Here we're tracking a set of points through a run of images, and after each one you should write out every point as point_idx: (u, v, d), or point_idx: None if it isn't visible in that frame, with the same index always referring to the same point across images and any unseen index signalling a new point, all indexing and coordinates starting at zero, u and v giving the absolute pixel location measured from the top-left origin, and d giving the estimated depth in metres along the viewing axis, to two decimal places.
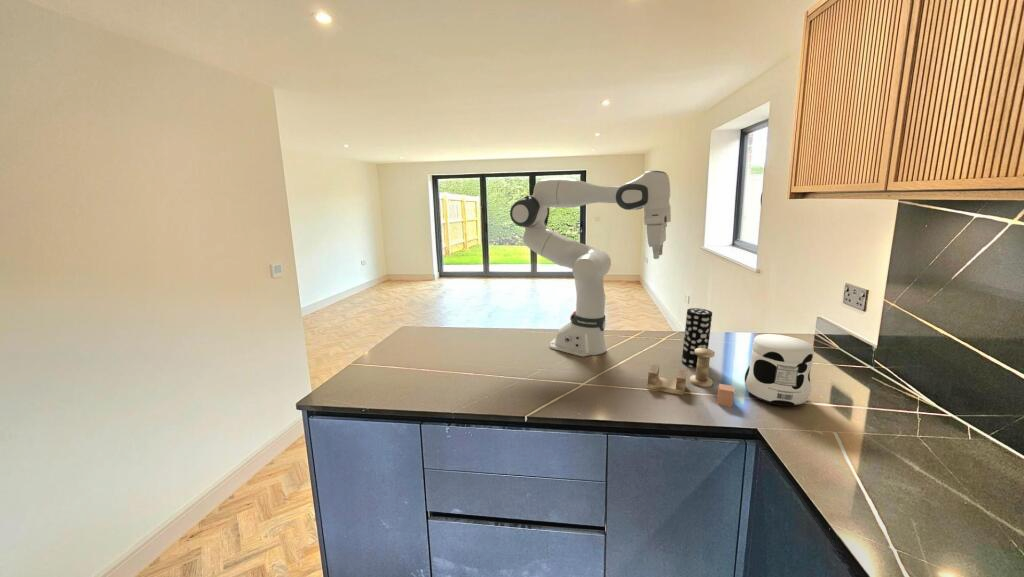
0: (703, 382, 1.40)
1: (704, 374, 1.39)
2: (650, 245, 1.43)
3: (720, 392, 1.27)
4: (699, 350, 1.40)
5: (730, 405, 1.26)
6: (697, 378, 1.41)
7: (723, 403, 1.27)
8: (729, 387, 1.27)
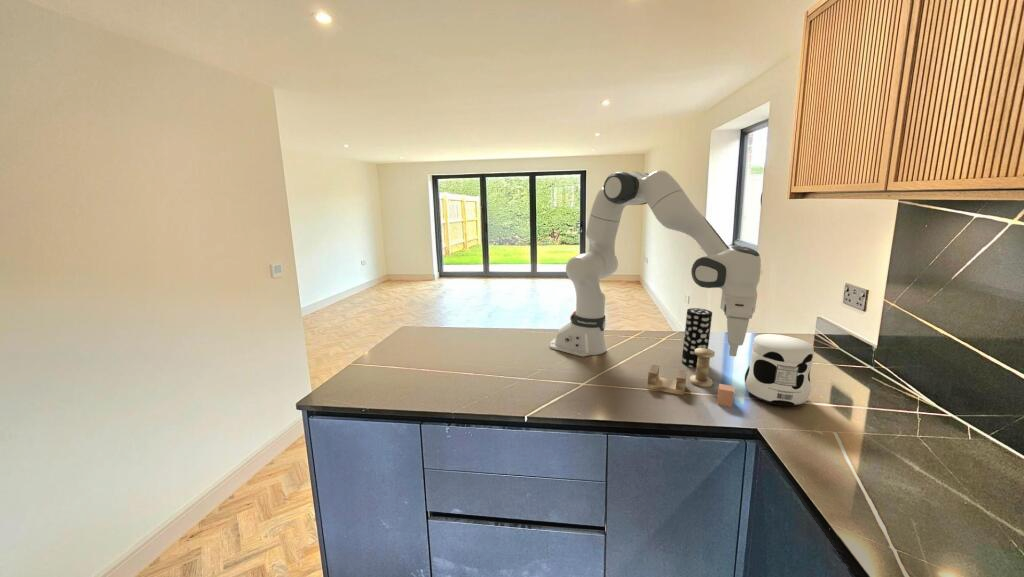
0: (703, 382, 1.40)
1: (704, 374, 1.39)
2: (730, 342, 1.15)
3: (720, 392, 1.27)
4: (699, 350, 1.40)
5: (730, 405, 1.26)
6: (697, 378, 1.41)
7: (723, 403, 1.27)
8: (729, 387, 1.27)
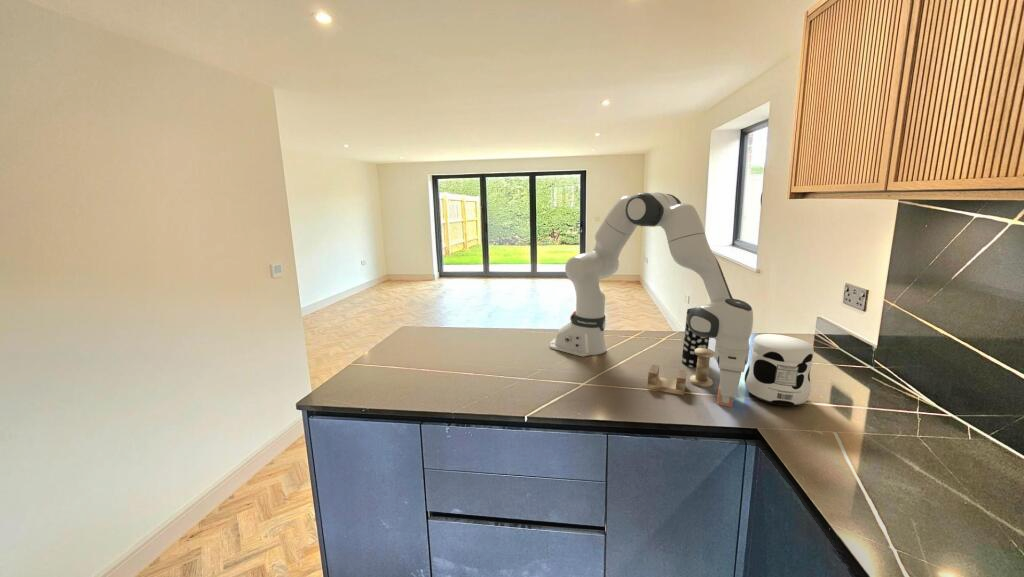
0: (703, 382, 1.40)
1: (704, 374, 1.39)
2: (723, 394, 1.19)
3: (720, 392, 1.27)
4: (699, 350, 1.40)
5: (730, 405, 1.26)
6: (697, 378, 1.41)
7: (723, 403, 1.27)
8: None
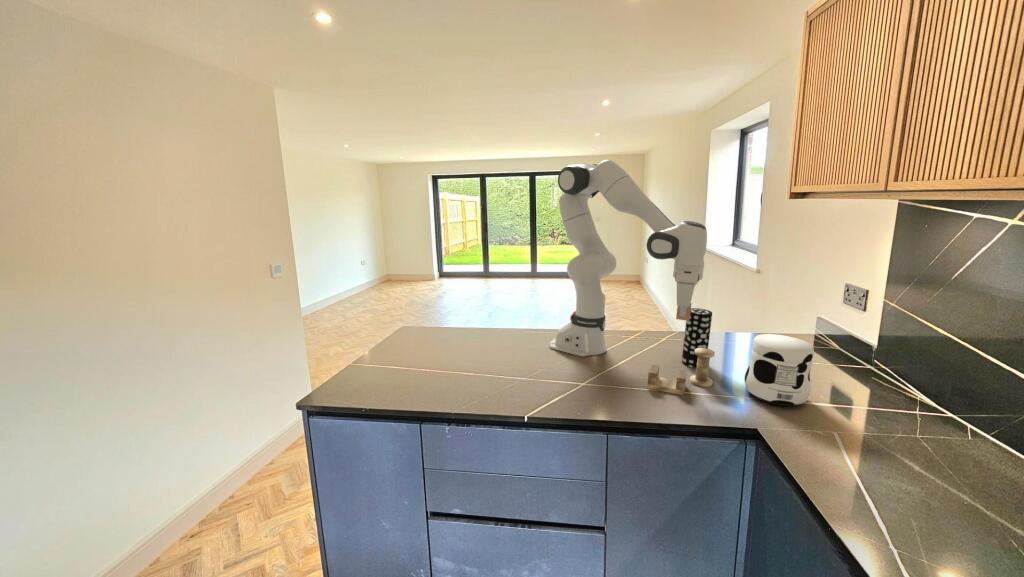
0: (703, 382, 1.40)
1: (704, 374, 1.39)
2: (678, 305, 1.31)
3: (678, 307, 1.39)
4: (699, 350, 1.40)
5: (687, 319, 1.39)
6: (697, 378, 1.41)
7: (681, 317, 1.39)
8: None
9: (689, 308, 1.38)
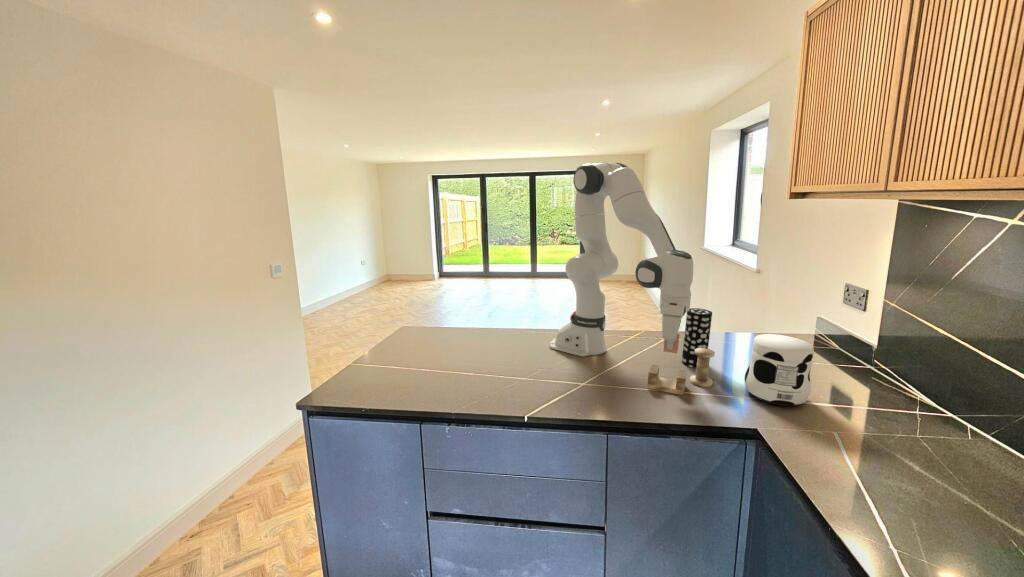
0: (703, 382, 1.40)
1: (704, 374, 1.39)
2: (664, 338, 1.26)
3: None
4: (699, 350, 1.40)
5: (675, 351, 1.33)
6: (697, 378, 1.41)
7: (669, 350, 1.33)
8: None
9: (677, 340, 1.32)
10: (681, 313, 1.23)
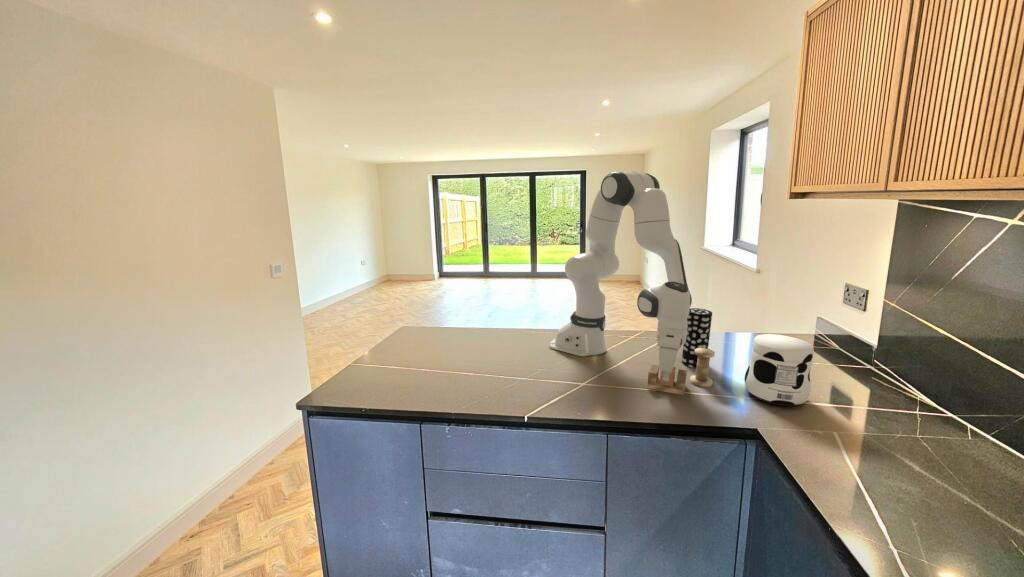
0: (703, 382, 1.40)
1: (704, 374, 1.39)
2: (661, 370, 1.28)
3: (662, 372, 1.36)
4: (699, 350, 1.40)
5: (671, 384, 1.35)
6: (697, 378, 1.41)
7: (665, 383, 1.36)
8: None
9: (673, 374, 1.34)
10: (677, 346, 1.26)
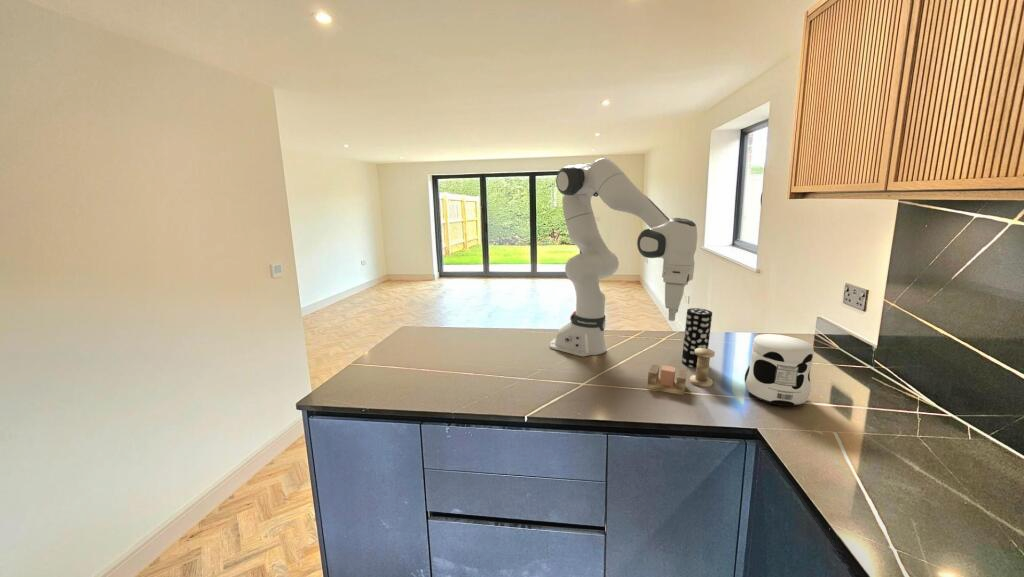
0: (703, 382, 1.40)
1: (704, 374, 1.39)
2: (667, 307, 1.24)
3: (662, 372, 1.36)
4: (699, 350, 1.40)
5: (671, 384, 1.35)
6: (697, 378, 1.41)
7: (665, 383, 1.36)
8: (671, 368, 1.37)
9: (673, 374, 1.34)
10: (684, 281, 1.21)
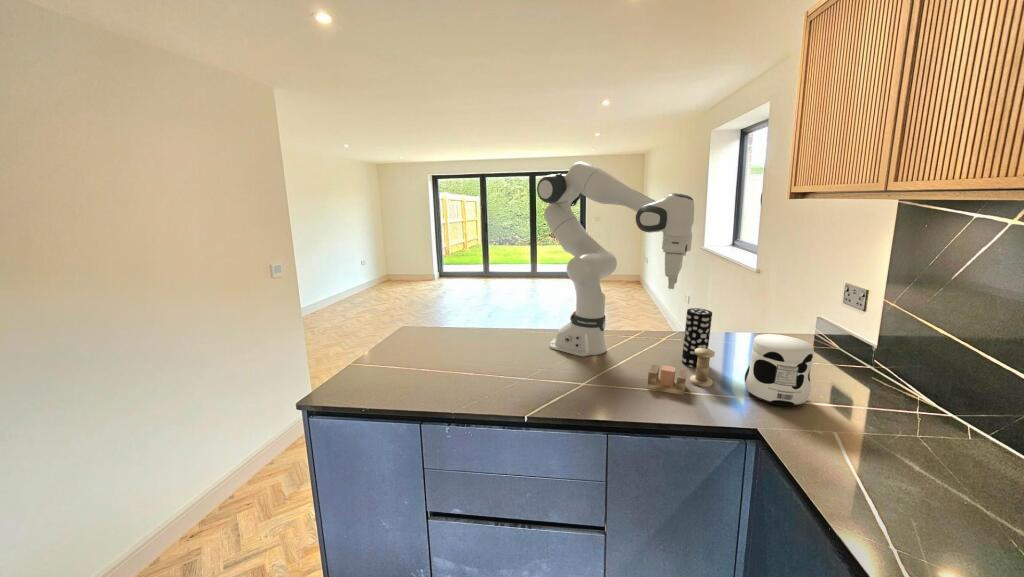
0: (703, 382, 1.40)
1: (704, 374, 1.39)
2: (667, 275, 1.33)
3: (662, 372, 1.36)
4: (699, 350, 1.40)
5: (671, 384, 1.35)
6: (697, 378, 1.41)
7: (665, 383, 1.36)
8: (671, 368, 1.37)
9: (673, 374, 1.34)
10: (683, 250, 1.31)
